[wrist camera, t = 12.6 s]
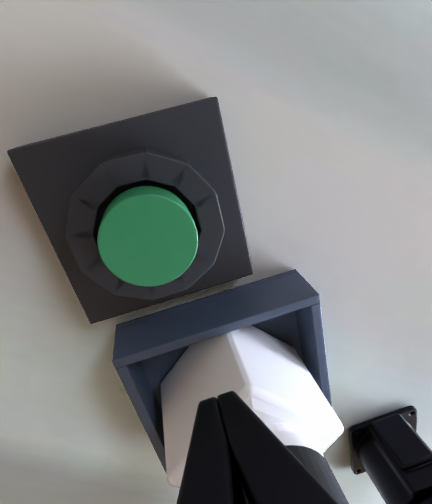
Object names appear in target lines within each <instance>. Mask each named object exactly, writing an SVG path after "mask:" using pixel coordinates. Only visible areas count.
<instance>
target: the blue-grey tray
mask: <svg viewBox="0 0 432 504" xmlns="http://www.w3.org/2000/svg"><path fill="white" fill-rule="evenodd" d="M250 325H252V326H254V327H256V328H258V329H260V330H262V331H263V332H265V333H267V334H269V335H271V336H273V337H275V338H277V339H279V340H281V341H282V342H284V343H286V344H288V345H290V346H292V347H293V348H294V349H295V350H296V352H297V353H298V355H299V357H300V358H301V360H302V361H303V363H304V364H305V366H306V368H307V369H308V371H309V372H310V374H311V376H312V377H313V379H314V380H315V382H316V383H317V385H318V387H319V388H320V390H321V391H322V393H323V395H324V396H325V398H326V399H327V401H328V402H329V404H330V406H331V407H332V404H331V395H330V386H329V377H328V368H327V360H326V351H325V342H324V333H323V324H322V315H321V306H320V297H319V294H318V293H317V292H316V291H315V290H314V289H313V288H312V286H311V285H310V284H309V283H308V282H307V281H306V280H305V279H304V278H303V277H302V276H301V275H300V274H299V273H298V272H297V271H296V269H294V270H291V271H288V272H285V273H282V274H278V275H275V276H272V277H269V278H266V279H262V280H259V281H256V282H253V283H250V284H246V285H243V286H240V287H237V288H234V289H230V290H227V291H224V292H221V293H218V294H214V295H211V296H208V297H205V298H202V299H198V300H195V301H192V302H189V303H186V304H182V305H179V306H176V307H173V308H170V309H166V310H163V311H160V312H157V313H154V314H150V315H147V316H144V317H141V318H138V319H134V320H131V321H128V322H125V323H122V324H118V325H116V333H115V342H114V351H113V360H112V362H113V364H114V366H115V368H116V370H117V372H118V374H119V376H120V378H121V380H122V382H123V384H124V387H125V389H126V391H127V393H128V395H129V397H130V399H131V401H132V403H133V405H134V407H135V409H136V411H137V414H138V416H139V418H140V420H141V422H142V424H143V426H144V428H145V430H146V432H147V434H148V436H149V438H150V441H151V443H152V445H153V447H154V449H155V451H156V453H157V455H158V457H159V459H160V461H161V463H162V465H163V468H164V470H165V472H166V457H165V443H164V429H163V415H162V401H161V386H160V385H161V382H162V380H163V379H164V378H165V377H166V375H167V374H168V373H169V371H170V370H171V369H172V367H173V366H174V365H175V364H176V362H177V361H178V360H179V358H180V357H181V356H182V355H183V353H184V352H185V351H186V349H187V348H188V347H189V345H191V344H194V343H197V342H200V341H203V340H206V339H209V338H213V337H216V336H219V335H222V334H225V333H228V332H231V331H234V330H237V329H240V328H243V327H246V326H250ZM166 474H167V472H166Z"/></svg>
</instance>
